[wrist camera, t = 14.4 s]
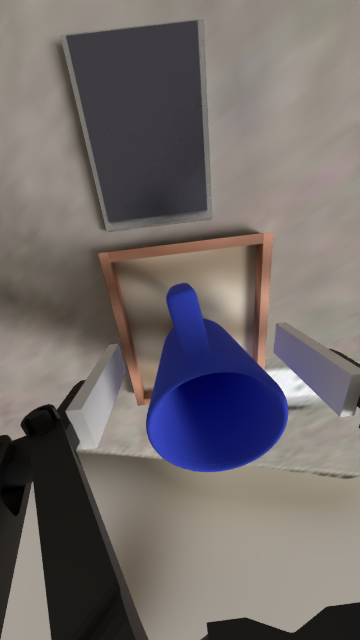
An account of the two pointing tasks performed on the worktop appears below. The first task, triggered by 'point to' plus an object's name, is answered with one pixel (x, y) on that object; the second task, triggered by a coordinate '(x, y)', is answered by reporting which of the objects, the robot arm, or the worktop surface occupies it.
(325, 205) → the worktop surface
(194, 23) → the ink pad
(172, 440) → the mug
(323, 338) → the worktop surface
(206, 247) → the sand box
